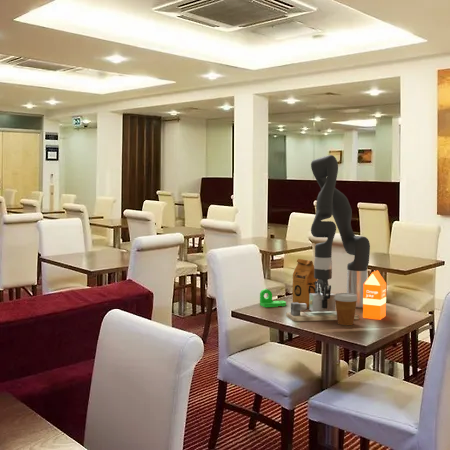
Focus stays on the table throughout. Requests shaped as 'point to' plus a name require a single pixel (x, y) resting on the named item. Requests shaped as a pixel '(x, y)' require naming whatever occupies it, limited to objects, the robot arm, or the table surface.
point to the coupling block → (316, 302)
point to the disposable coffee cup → (345, 308)
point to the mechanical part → (269, 300)
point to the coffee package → (303, 281)
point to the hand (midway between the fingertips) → (322, 306)
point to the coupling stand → (310, 313)
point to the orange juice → (374, 297)
